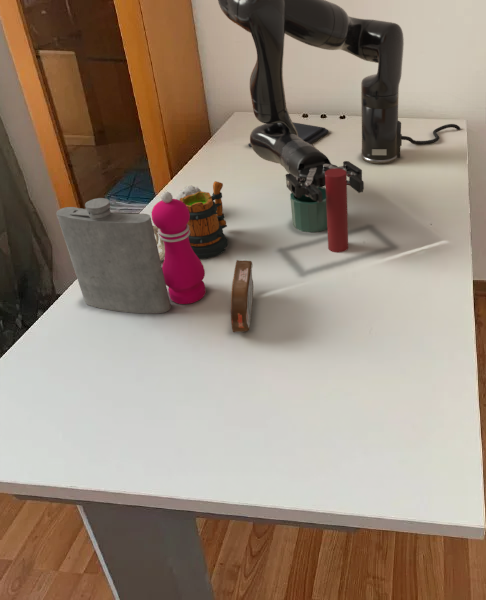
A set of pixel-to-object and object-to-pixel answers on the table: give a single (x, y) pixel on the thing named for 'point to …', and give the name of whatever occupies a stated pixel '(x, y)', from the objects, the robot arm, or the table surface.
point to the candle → (336, 209)
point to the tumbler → (309, 213)
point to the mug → (206, 222)
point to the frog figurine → (187, 191)
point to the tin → (242, 296)
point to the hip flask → (115, 258)
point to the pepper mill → (178, 251)
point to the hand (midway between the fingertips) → (341, 192)
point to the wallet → (308, 132)
